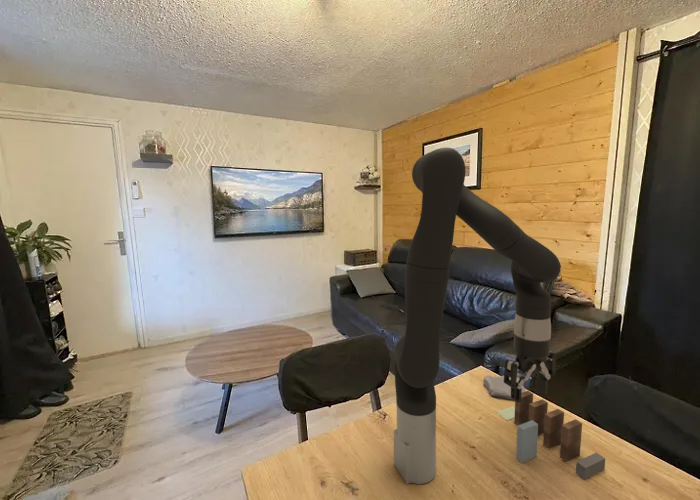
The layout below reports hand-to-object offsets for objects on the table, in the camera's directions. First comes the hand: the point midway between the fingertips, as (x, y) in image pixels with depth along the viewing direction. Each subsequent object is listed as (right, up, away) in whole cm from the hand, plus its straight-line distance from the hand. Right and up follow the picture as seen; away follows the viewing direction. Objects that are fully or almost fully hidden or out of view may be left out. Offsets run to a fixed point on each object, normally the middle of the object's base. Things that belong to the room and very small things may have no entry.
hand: (529, 396), depth 76 cm
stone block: (+9, -13, +29) cm, 33 cm away
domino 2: (+1, -17, +2) cm, 17 cm away
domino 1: (+7, -15, +15) cm, 22 cm away
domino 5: (+11, -16, +2) cm, 20 cm away
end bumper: (+13, -17, -2) cm, 21 cm away
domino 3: (+8, -15, +10) cm, 20 cm away
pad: (+5, -14, +19) cm, 24 cm away
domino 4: (+10, -16, +6) cm, 19 cm away
